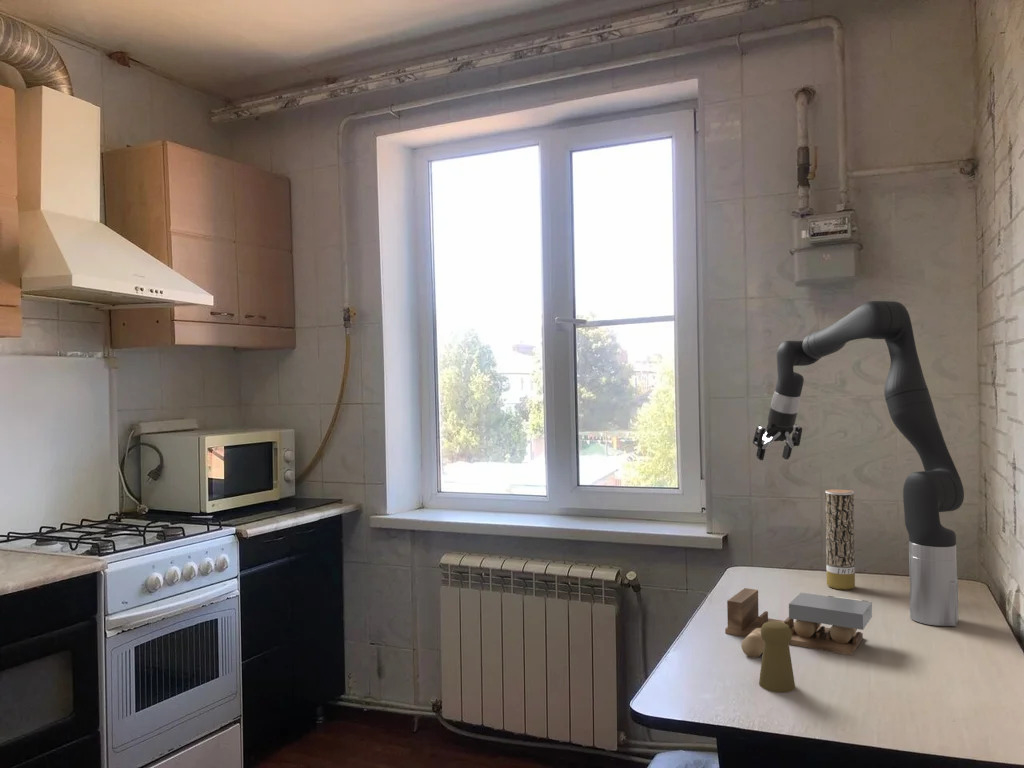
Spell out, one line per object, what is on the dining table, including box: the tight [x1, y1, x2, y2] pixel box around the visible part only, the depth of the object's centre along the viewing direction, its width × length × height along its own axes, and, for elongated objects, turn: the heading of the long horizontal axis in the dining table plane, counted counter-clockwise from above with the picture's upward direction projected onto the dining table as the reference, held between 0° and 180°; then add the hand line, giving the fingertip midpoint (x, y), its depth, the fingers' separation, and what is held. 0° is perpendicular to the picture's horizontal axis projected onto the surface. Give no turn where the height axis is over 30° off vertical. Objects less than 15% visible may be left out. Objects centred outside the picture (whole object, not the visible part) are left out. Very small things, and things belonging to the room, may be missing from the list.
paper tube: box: [824, 488, 856, 591], centre depth 198 cm, size 7×7×25 cm
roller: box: [741, 628, 764, 659], centre depth 151 cm, size 4×6×4 cm, turn 146°
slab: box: [788, 592, 873, 631], centre depth 156 cm, size 14×10×3 cm
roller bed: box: [724, 587, 864, 656], centre depth 161 cm, size 25×12×7 cm, turn 56°
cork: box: [758, 621, 796, 693], centre depth 134 cm, size 6×6×11 cm
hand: (772, 458), depth 224 cm, fingers open, 8 cm apart
